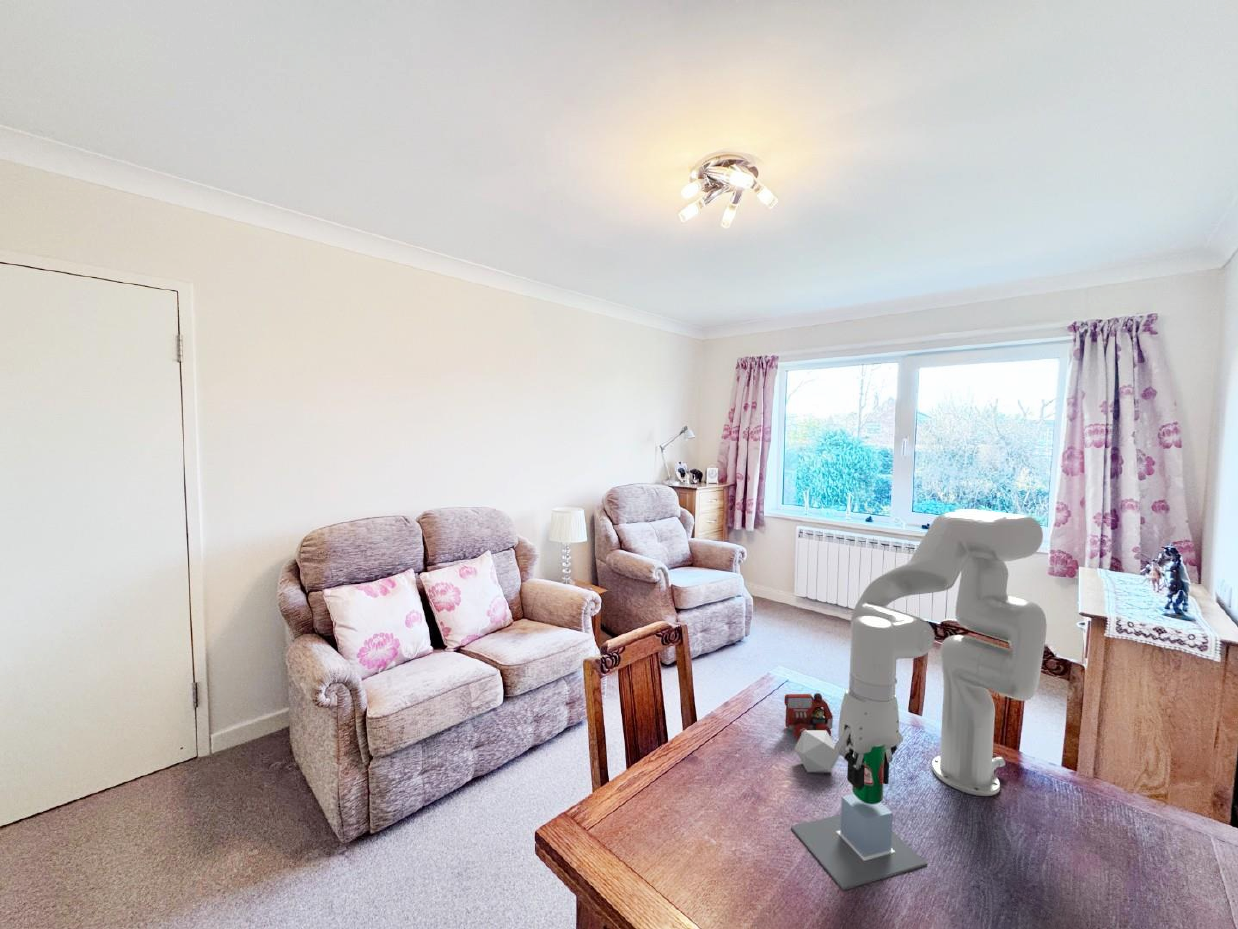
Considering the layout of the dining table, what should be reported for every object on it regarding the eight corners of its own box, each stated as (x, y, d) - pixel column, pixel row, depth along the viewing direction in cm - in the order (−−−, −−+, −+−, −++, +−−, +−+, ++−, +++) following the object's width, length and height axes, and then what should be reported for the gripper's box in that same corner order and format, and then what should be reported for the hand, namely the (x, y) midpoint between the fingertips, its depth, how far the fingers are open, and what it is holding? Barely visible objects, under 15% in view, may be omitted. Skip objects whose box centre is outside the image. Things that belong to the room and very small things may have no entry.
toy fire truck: (838, 742, 127) (839, 701, 126) (789, 743, 126) (791, 702, 125) (825, 726, 134) (826, 687, 133) (779, 727, 133) (780, 688, 132)
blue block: (866, 826, 98) (867, 790, 98) (891, 850, 92) (892, 812, 92) (840, 832, 96) (841, 796, 96) (864, 857, 91) (865, 819, 90)
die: (833, 790, 110) (852, 746, 113) (796, 765, 111) (815, 722, 114) (818, 779, 118) (836, 738, 121) (783, 756, 119) (802, 716, 122)
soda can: (846, 791, 95) (848, 729, 95) (865, 784, 97) (868, 723, 97) (869, 809, 91) (871, 744, 90) (889, 802, 93) (891, 738, 92)
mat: (866, 809, 103) (866, 807, 103) (927, 865, 90) (927, 862, 90) (791, 828, 98) (791, 826, 98) (843, 890, 84) (843, 887, 84)
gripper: (892, 671, 99) (888, 762, 100) (818, 682, 94) (815, 778, 95) (925, 690, 92) (921, 787, 93) (848, 703, 87) (844, 805, 88)
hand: (867, 781), depth 94 cm, fingers closed on soda can, 5 cm apart
